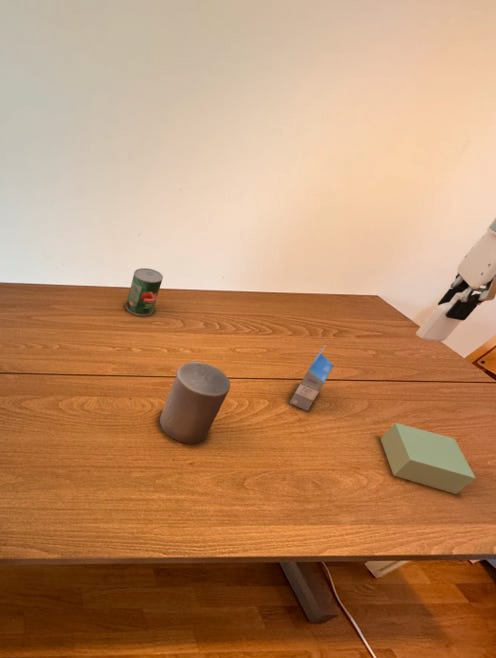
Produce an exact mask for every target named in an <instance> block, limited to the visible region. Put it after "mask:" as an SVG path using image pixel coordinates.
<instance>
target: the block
mask: <svg viewBox="0 0 496 658" xmlns="http://www.w3.org/2000/svg"><path fill="white" fill-rule="evenodd" d="M380 441H381V444H382V448H383V450H384V453H385V455H386V458H387V461H388V463H389V466H390V469H391V472H392V475H393V477H397V478H400V479H403V480H406V481H411V482H413V483H418V484H420V485H424V486H427V487H430V488H434V489H436V490H441V491H443V492H448V493H451V494H454V495H457V494H459V492H461V491H462V490H463V489H464V488H466V487H467V486H469V484H470V483H472V482H473V481H474V480H476V479H477V478H476V476H475V474H474V472H473V471H472V467H470V465H469V463H468V461H467V459H466V457H465V455H464V454H463V452H462V450H461V448H460V446H459V444H458V443H457V440H456V439H455V438H454V437H450V436H446V435H443V434H439V433H435V432H431V431H428V430H424V429H422V428H421V429H420V428H416V427H413V426H409V425H405V424H401V423H398V422H394V423H393V424H392V425H391V426H390V427H389V429H388V430H386V432H385V433H384V434H383V435H382V436H381V437H380Z"/></svg>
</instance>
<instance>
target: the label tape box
mask: <svg viewBox="0 0 496 658" xmlns="http://www.w3.org/2000/svg"><path fill="white" fill-rule="evenodd" d="M327 345H328V344H324V346H323V347H322V348H321V349H320V350H319V352H318V353H317V354H316V357H314V360H313V361H312V362H311V364H310V366H309V368H308V370H306V373H305V374H304V376H303V378H302V379H301V381H300V383H299V385H298V386H297V388H296V390H295V392H294V394H293V395H292V397H291V400H289V404H290V405H292V406H294V407H297V408H299V409H302V410H304V411H305V412H306V411H307V412H308V410H310V407H311V405H312V404H313V402H314V400H316V397H317V396H318V394H319V393H320V391H321V390H322V388H323V386H324V384H325V383H326V381H327V380H328V378H329V375H330V373H331V371H332V369H333V368H334V363H333V362H331V361H330V360H329V358H327V357H326V356H325V355H323V354H322V352H323V350H324V349H325V347H326V346H327Z"/></svg>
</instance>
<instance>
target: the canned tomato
mask: <svg viewBox="0 0 496 658" xmlns="http://www.w3.org/2000/svg"><path fill="white" fill-rule="evenodd" d="M163 279H164V275H163V274H162V273H161V272H160V271H158V270H156V269H152V268H145V267H144V268H143V267H142V268H141V267H140V268H138V269H135V270H134V272H133V277H132V281H131V285H130V289H129V292H128V296H127V301H126V304H125V308H126V310H127V311H128V312H129V313H131V314H133V315H136V316H139V317H140V316H141V317H145V316H149V315H152V314H153V312H154V308H155V306H156V303H157V299H158V295H159V292H160V289H161V286H162V282H163Z"/></svg>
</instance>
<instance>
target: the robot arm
mask: <svg viewBox="0 0 496 658" xmlns="http://www.w3.org/2000/svg"><path fill="white" fill-rule="evenodd" d="M456 269H457V270H456V271H457V274H456V275H455V279H454V281H453V282H451V284H450V286H449V288H448V290H447V291H446V292H445V293H444V295H443V296H442V298H440V299H439V301H438V302H437V306H439V305H441V304H444V303H448V302H450V301H451V299H452V298H453V297H454V296H455V294H456V293H462V292H464V291H465V290H466V289H468V290H467V291H466V293H465V294H464V296H463V297H462V299H461V300H460V299H458V300H457V301H456V302H455V304H454V305H453V306H452V307H451V308H450V310H449V311H448V312H447V313H446V317H447V318H452V319H457V320H462V321H465V320H466V319H468V317H470V315H471V314H472V313H473V312H474V311H475V309H476V308H477V307H478V306H480V305H482V303H485V302H487V301H488V302H489V301H493V300H494V299H495V298H496V217H495V218H494V219H493V220H492V222H491V223H490V224H489V226H488V227H487V229H486V232H484V234H483V235H482V236H481V237H480V238H479V239H478V241H477V242H476V243H475V244H474V245H473V246H472V247H471V249H470V250H469V251H468V252H467V253H466V255H465V256H464V257H463V259H462V260H461V261H460V263H459V264H458V265H457V268H456ZM474 292H476V293H474ZM477 292H479V293H477ZM462 321H461V322H462Z"/></svg>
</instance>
